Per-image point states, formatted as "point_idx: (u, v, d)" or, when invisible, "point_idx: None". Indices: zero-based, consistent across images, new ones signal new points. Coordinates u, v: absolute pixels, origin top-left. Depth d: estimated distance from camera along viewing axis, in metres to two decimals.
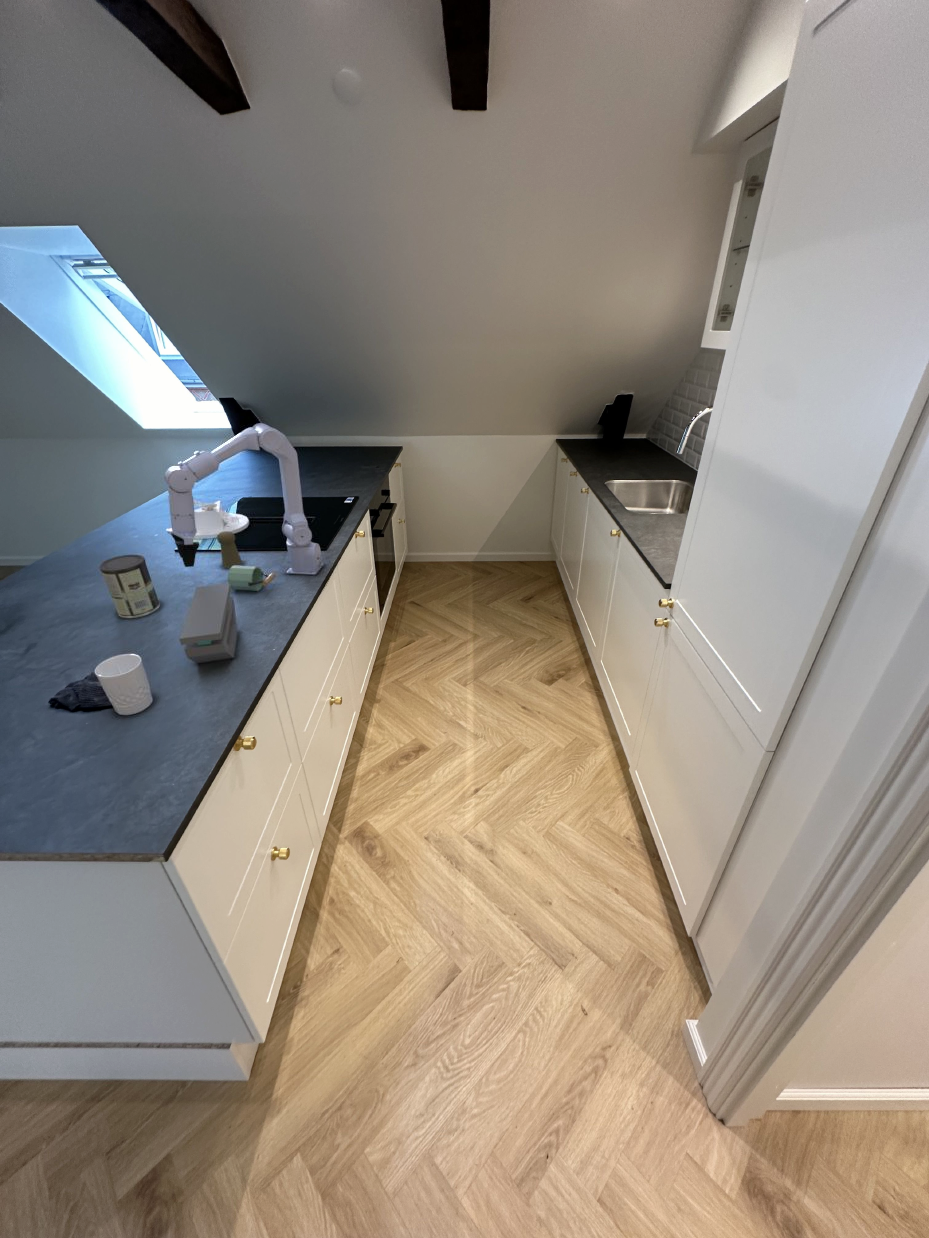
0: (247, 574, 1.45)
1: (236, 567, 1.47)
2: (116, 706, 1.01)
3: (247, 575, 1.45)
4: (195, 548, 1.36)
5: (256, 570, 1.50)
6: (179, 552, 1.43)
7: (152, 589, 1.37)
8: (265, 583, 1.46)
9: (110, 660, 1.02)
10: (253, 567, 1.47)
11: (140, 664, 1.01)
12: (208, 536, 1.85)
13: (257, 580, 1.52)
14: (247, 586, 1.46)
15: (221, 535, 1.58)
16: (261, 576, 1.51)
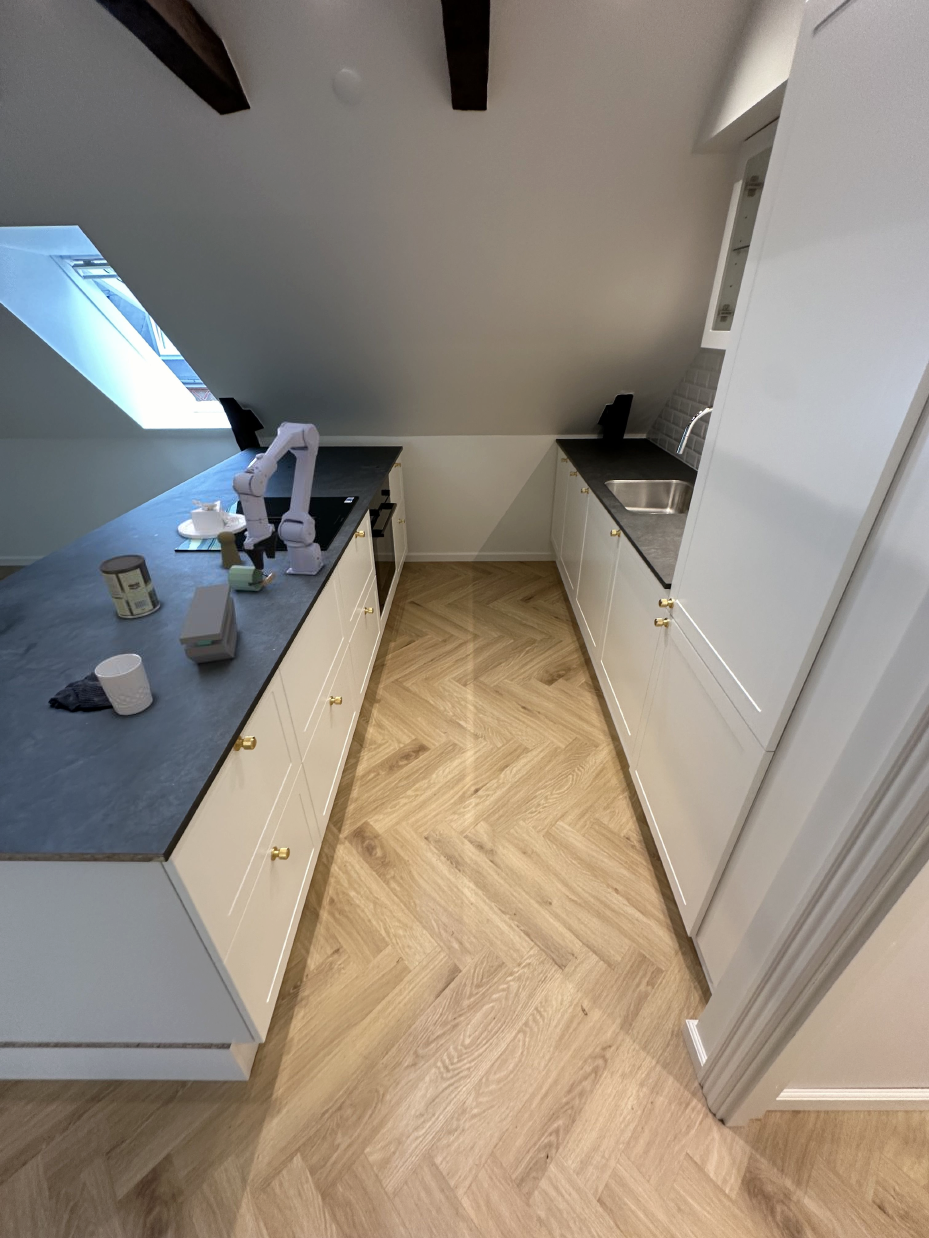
0: (247, 574, 1.45)
1: (236, 567, 1.47)
2: (116, 706, 1.01)
3: (247, 575, 1.45)
4: (258, 553, 1.38)
5: (256, 570, 1.50)
6: (265, 553, 1.48)
7: (152, 589, 1.37)
8: (265, 583, 1.46)
9: (110, 660, 1.02)
10: (253, 567, 1.47)
11: (140, 664, 1.01)
12: (208, 536, 1.85)
13: (257, 580, 1.52)
14: (247, 586, 1.46)
15: (221, 535, 1.58)
16: (261, 576, 1.51)
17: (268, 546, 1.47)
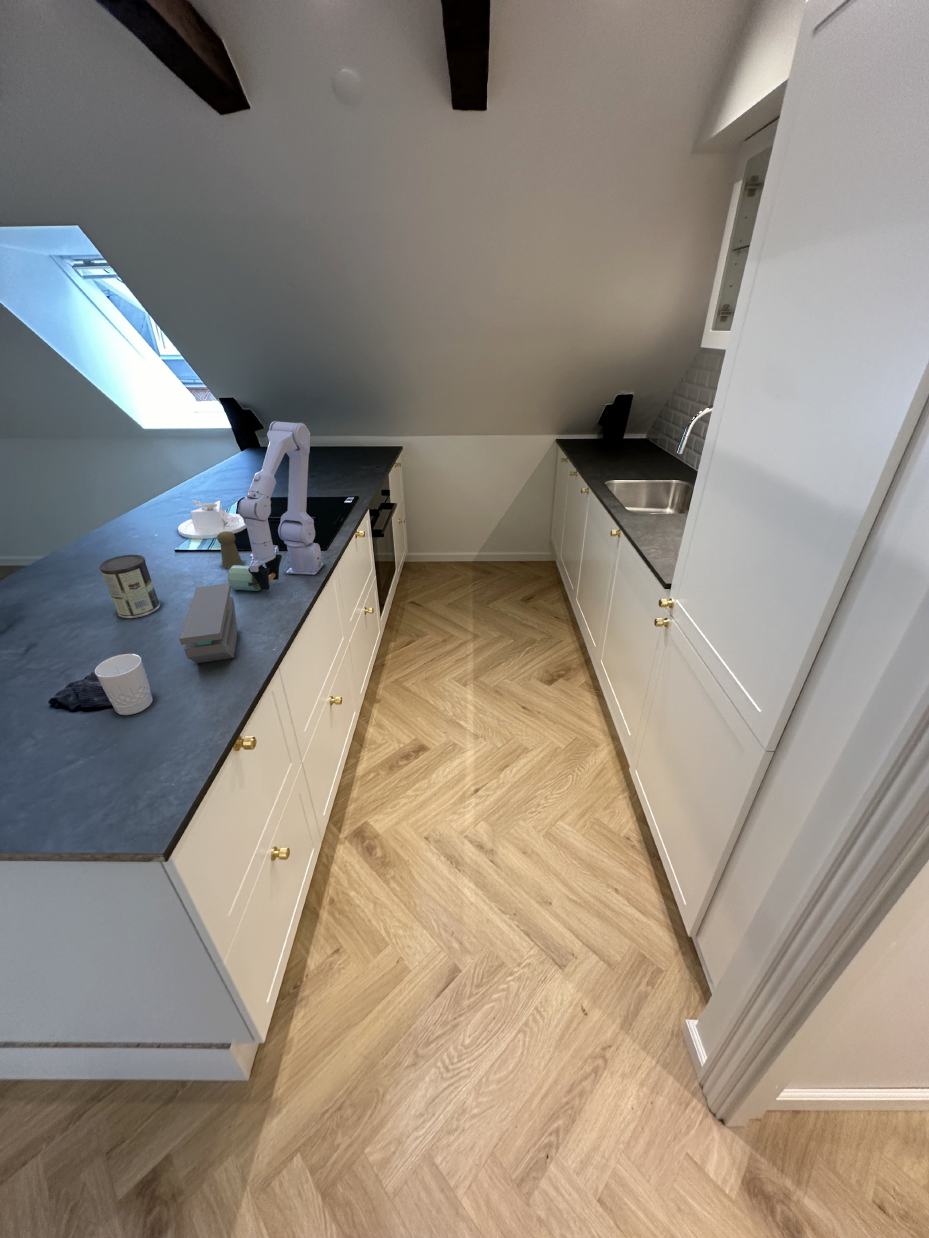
0: (247, 574, 1.45)
1: (236, 567, 1.47)
2: (116, 706, 1.01)
3: (247, 575, 1.45)
4: (264, 574, 1.42)
5: None
6: (269, 574, 1.51)
7: (152, 589, 1.37)
8: None
9: (110, 660, 1.02)
10: None
11: (140, 664, 1.01)
12: (208, 536, 1.85)
13: None
14: (247, 586, 1.46)
15: (221, 535, 1.58)
16: None
17: (272, 568, 1.50)
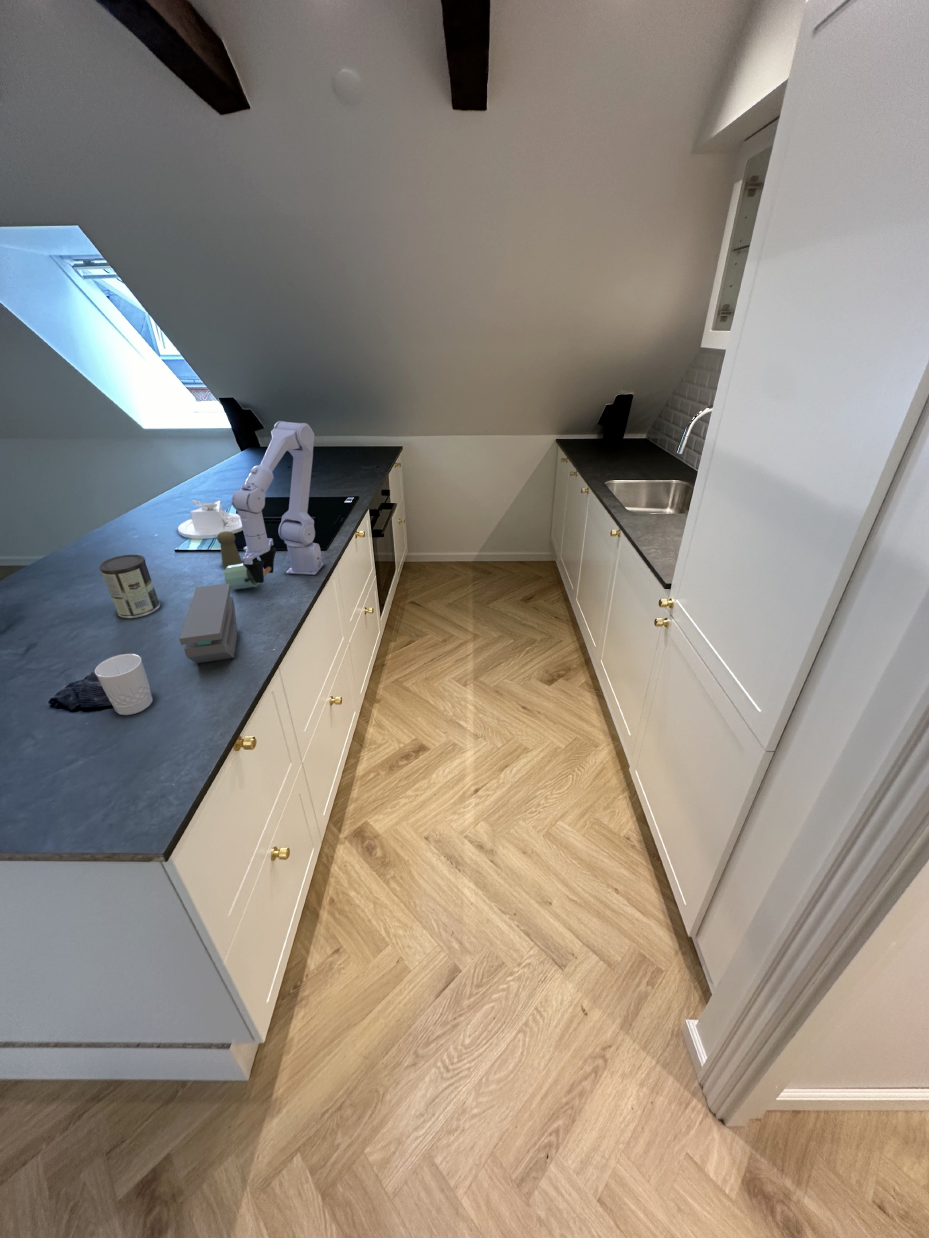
0: (241, 570, 1.45)
1: (231, 566, 1.47)
2: (116, 706, 1.01)
3: (242, 571, 1.45)
4: (258, 567, 1.41)
5: None
6: (264, 567, 1.50)
7: (152, 589, 1.37)
8: None
9: (110, 660, 1.02)
10: None
11: (140, 664, 1.01)
12: (208, 536, 1.85)
13: None
14: (244, 583, 1.46)
15: (221, 535, 1.58)
16: None
17: (266, 561, 1.49)
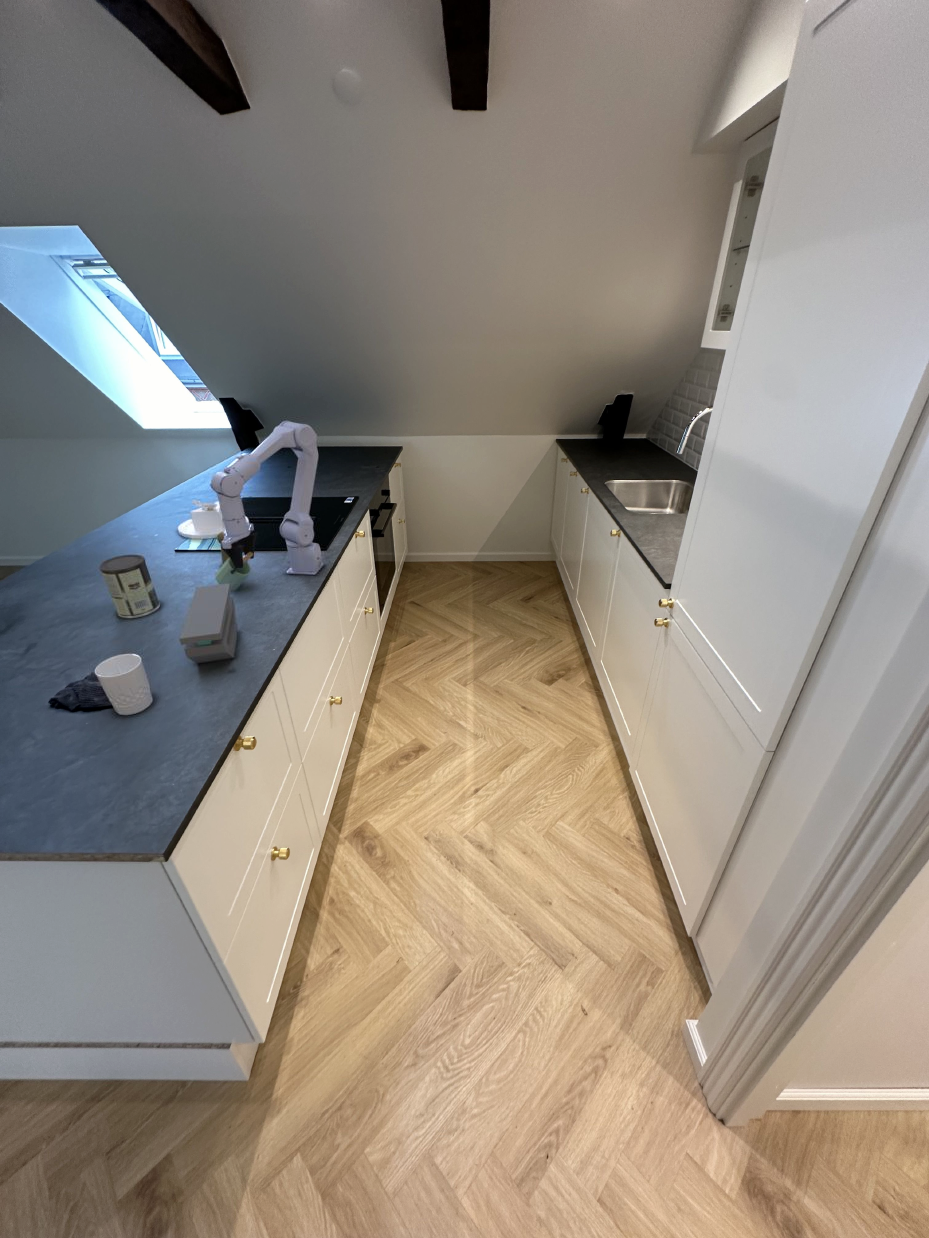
0: (225, 566, 1.45)
1: (219, 569, 1.48)
2: (116, 706, 1.01)
3: (226, 566, 1.44)
4: (237, 551, 1.39)
5: None
6: (244, 553, 1.48)
7: (152, 589, 1.37)
8: None
9: (110, 660, 1.02)
10: (228, 558, 1.46)
11: (140, 664, 1.01)
12: (208, 536, 1.85)
13: (245, 569, 1.50)
14: (233, 576, 1.45)
15: (221, 535, 1.58)
16: (245, 563, 1.50)
17: (246, 546, 1.47)
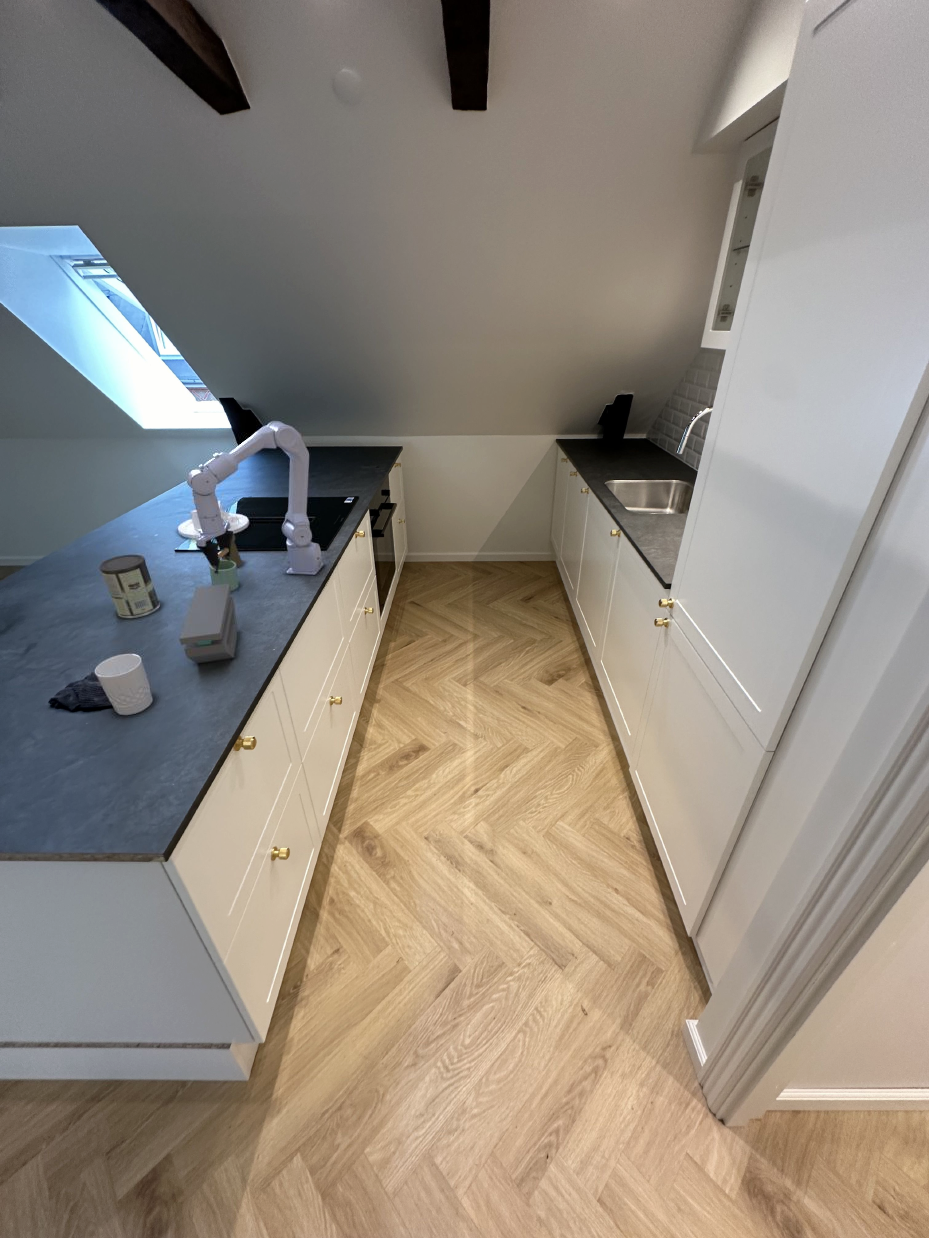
0: (210, 571, 1.46)
1: None
2: (116, 706, 1.01)
3: (210, 571, 1.46)
4: (212, 549, 1.39)
5: (223, 564, 1.50)
6: (220, 551, 1.49)
7: (152, 589, 1.37)
8: None
9: (110, 660, 1.02)
10: None
11: (140, 664, 1.01)
12: None
13: None
14: (220, 575, 1.45)
15: None
16: (230, 562, 1.50)
17: (223, 544, 1.48)
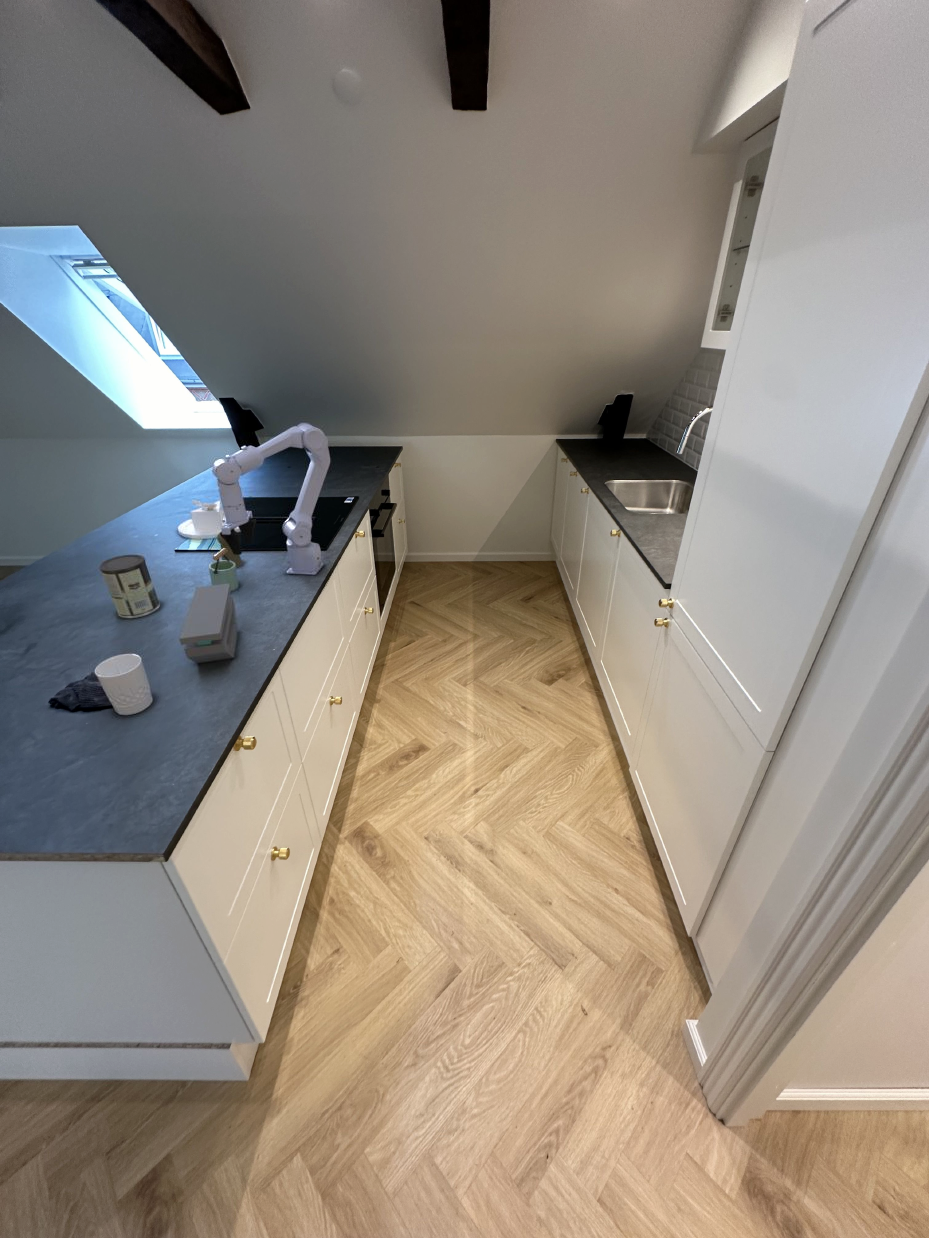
0: None
1: None
2: (116, 706, 1.01)
3: (210, 572, 1.46)
4: (235, 538, 1.42)
5: (223, 564, 1.50)
6: (244, 539, 1.52)
7: (152, 589, 1.37)
8: (214, 557, 1.43)
9: (110, 660, 1.02)
10: None
11: (140, 664, 1.01)
12: (208, 536, 1.85)
13: None
14: (220, 575, 1.45)
15: None
16: (229, 562, 1.50)
17: (246, 532, 1.51)
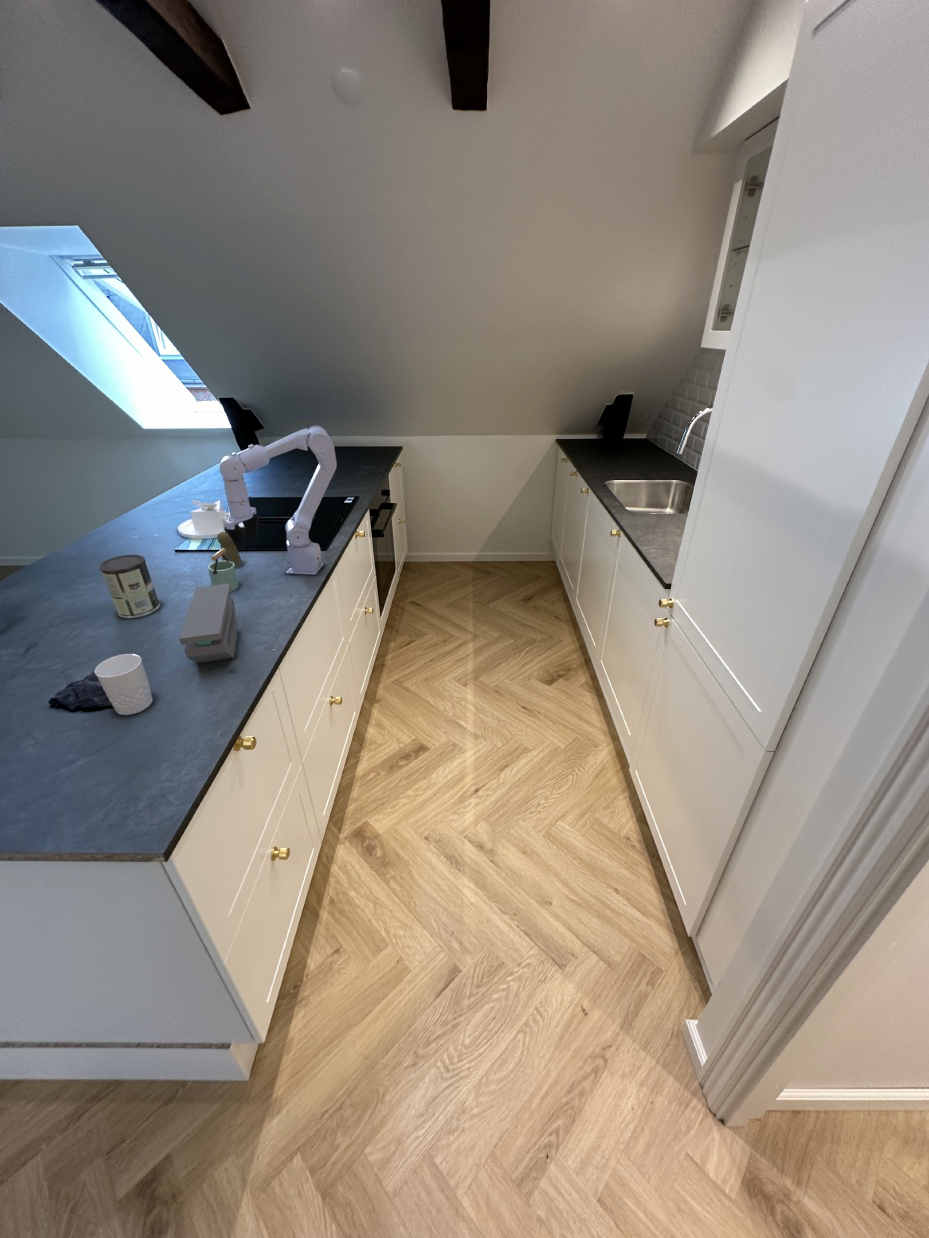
0: (209, 572, 1.46)
1: None
2: (116, 706, 1.01)
3: (209, 572, 1.46)
4: (239, 533, 1.45)
5: (222, 565, 1.50)
6: (247, 535, 1.55)
7: (152, 589, 1.37)
8: (213, 557, 1.43)
9: (110, 660, 1.02)
10: None
11: (140, 664, 1.01)
12: (208, 536, 1.85)
13: None
14: (219, 575, 1.45)
15: (221, 535, 1.58)
16: (229, 562, 1.50)
17: (250, 528, 1.54)
